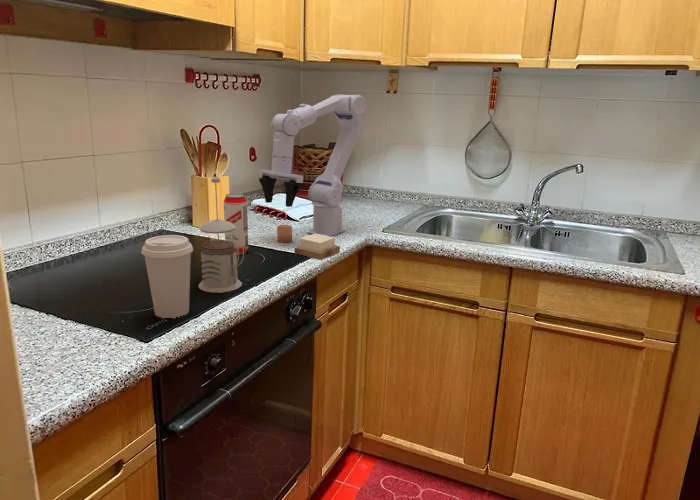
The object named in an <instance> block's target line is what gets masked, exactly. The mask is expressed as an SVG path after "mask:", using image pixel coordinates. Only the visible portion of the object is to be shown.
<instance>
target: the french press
mask: <svg viewBox="0 0 700 500" xmlns="http://www.w3.org/2000/svg"><path fill="white" fill-rule="evenodd" d="M210 180H211V183H213V184H215V185H214V186H215V209H216V219H212V220H208V221H206V222H204V223H203V224H201V225H200V226H198V229H199V231H200V232H201V233H204V234H217V240H208V241H205V242H204V243H202V245H201V246H202V248H203V249H202V250H201V251H200V260H201V261H200V262H202V263H201V273H202V275H201V277H202V280H201V282H200V283H198V288H199V290H201V291H204V292H208V293H227V292H232V291H235V290H238V289H239V288H240V287H242V285H243V282H241V281H240V279H238V267H239V266H240V265H242V263H243V261H244V258H245V253H244V248H243V245H242V242H241V241H240V239H239V238H238V237H237V236H236V235H234V236H235V237H236V238H238V240H239V241H240V243H241V245H242V248H243V254H242V259H241V261H240V262H239V258H240V255H239V250H238V247H237V245H236V243H235V241H234V236H233V239H232V238H231V237H228V241H225V239H223V240H222V239H220V236H219V235H220V234H225V233H227V232H231V231H234V229H235V228H236V226H235V225H234V224H233V223H231V222H228V221H224V219H219V218H218V217H219V214H218V193H217V183H221V178H219V177H218V176H213V177H212V178H211V179H210ZM229 238H230V239H232V241H229ZM233 242H234V243H235V244H234V243H233ZM234 245H236V247H237V251H238V255H237V254H236V249H235V248H232V247H234ZM229 252H234V253H233V255H232V254H229ZM238 262H239V264H238Z"/></svg>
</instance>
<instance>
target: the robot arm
mask: <svg viewBox="0 0 700 500" xmlns="http://www.w3.org/2000/svg"><path fill="white" fill-rule="evenodd" d="M298 105H299V106H298V107H297V108H294V109H287V111H286V113H277V114H276V115H275V116H274V117H273V118H272V120H271V122H270V123H269V124H270V129H271V131H272V138H273V146H272V154H271V156H272V158H271V169H270V170H269V169H259V176H258V177H260V178H258V181H259V183H260V185H261V187H262V190H263V194H264V195H263V196H264V200H265V203H267V204H268V203H272V202H273V199H274V198H273V197H274V188H275V186H276V182H277V180H283V181H284V183H283V184H284V187H285V207H287V208H289V207H290V208H292V207H293V204H294V201H295V198H296V197H297V194H298V193H299V191H300V189H301V188H302V186H303V183H304V175H302V174H300V175H299V174H296V173H292V169H293V157H294V145H295V136H296V135H298V133H299V132H300V130H302V129H304V128H306V127H308V126H311V125H313V124H314V123H316V120H317V118H318V117H321V116H324V115H326V114H330V113H332V112H333V115H334V116H335V117H336V119H337V121H338V122H339V123H340V125H341V128H342V129H341V130H340V133H339V135H338V138H337V141H336V143H335V145H334V146H333V147H334V148H333V150H332V152H331V155H330V158H329V160H328V161H327V165H326V167H325V169H324V172H323V173H322V174H319V175H318V176H317V177H315V181H314V182H313V183H312V184H311V185H310V186H309V189H308V198H309V200H310V201H311V205H313V212H312V213H313V219H312V220H313V222H312V223H313V224H312V230H309V231H307V234H310V235H312V234H320V235H325V236H329V237H333V236H335V235H338V234H341V233H343V232H344V231H345V230H344V229H342V228H343V227H342V226H343V225H342V224H343V223H342V222H343V217H342V216H343V211H342V209H341V206H340V205H339V204H340V203H341V201H342V198H343V190H344V188H345V187H344V185H343V182H342V181H341V178H342V176H343V173H344V171H345V169H346V167H347V163H348V161H349V158H350V156H351V154H352V152H353V149H354V146H355V145H356V142H357V140H358V137H359V134H360V133H361V129H362V124H363V123H362V122H363V119H364V117H365V114H366V112H367V110H368V108H367V105H366V100H365V98H364V97H363V96H362V95H361V94H342V93H338V94H335V95H331V96H330V97H328V98H326V99H324V100H322V101H320V102H318V103H316V104H314V105H310V104H306V103H301V104H298Z"/></svg>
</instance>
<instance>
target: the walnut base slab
mask: <svg viewBox="0 0 700 500" xmlns="http://www.w3.org/2000/svg"><path fill="white" fill-rule="evenodd" d="M340 251H341V246H340V245H336V244H335V246H334V247H332V248H329V249H327V250H324V251H321V252H318V251H314V250H310V249H305V248H301V247H300V245H298V246H296V247H294V255H297V254H299V255H298V256H301V255H303V256H302V257H305V256H307V257H306V258H311V259H315V260H319V261H322V260H325V259H327V258H330V257H333V256H334V255H336V254H339V253H340Z"/></svg>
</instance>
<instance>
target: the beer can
mask: <svg viewBox="0 0 700 500" xmlns="http://www.w3.org/2000/svg"><path fill="white" fill-rule="evenodd" d="M245 196H246V195H245V193H235V192H234V193H228V194H225V198H224V199H223V220H224V221H228V222H231V223H233V224H234V225H235V226H236V228H235V229H234V231H231V232H227V233H224V240H225V241H228V237H231V238H232V239H233V236H234V235H236V236H237V237H238V238H239V239H240V241H241V242H242V245H243V248H244V254H246V253H247V252H248V251H249V224H248V221H249V219H248V218H249V217H248V201H247V199H246V197H245ZM238 238H236V237H235V236H234V241H235V243H236V245H237V247H238V250H239V256H241V255H243V248H242V245H241V243H240V241H239V240H238ZM232 239H230V238H229V241H232ZM233 243H234V242H233ZM235 243H234V244H235ZM236 245H234V247H232V248H235V249H236V254H237V256H238V251H237V247H236ZM233 253H234V252H229V253H228V255H233Z"/></svg>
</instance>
